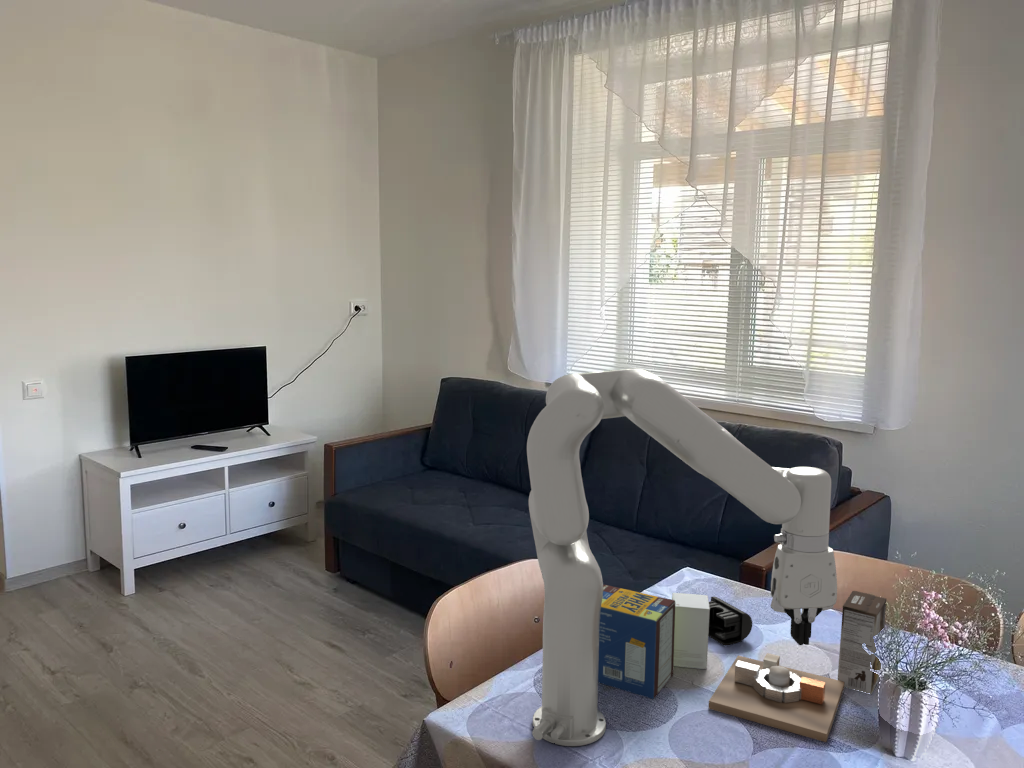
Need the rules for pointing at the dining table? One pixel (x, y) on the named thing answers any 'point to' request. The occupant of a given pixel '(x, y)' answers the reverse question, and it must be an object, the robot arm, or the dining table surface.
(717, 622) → the end cap
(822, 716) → the base
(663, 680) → the protein box
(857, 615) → the coffee box
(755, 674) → the segmented ring with arms
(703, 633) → the supplement box
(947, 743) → the dining table surface
